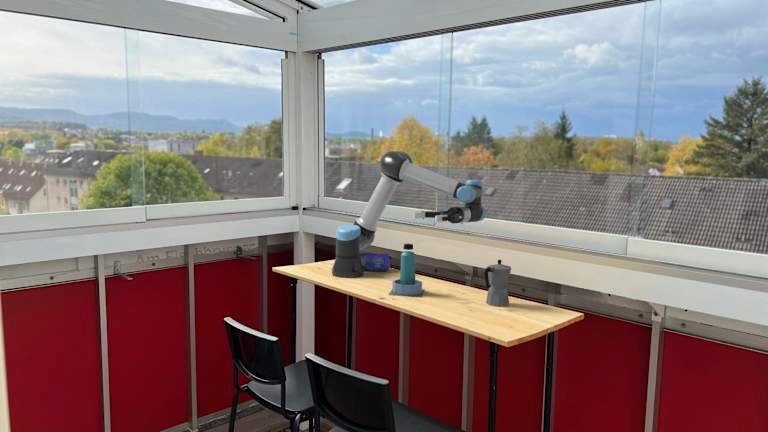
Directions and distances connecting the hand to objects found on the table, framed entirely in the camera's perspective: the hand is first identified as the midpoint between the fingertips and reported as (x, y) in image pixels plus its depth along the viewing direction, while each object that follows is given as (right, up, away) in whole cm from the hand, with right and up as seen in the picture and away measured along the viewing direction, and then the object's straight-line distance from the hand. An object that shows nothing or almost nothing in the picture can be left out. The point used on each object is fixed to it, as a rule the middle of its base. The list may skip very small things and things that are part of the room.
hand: (424, 217), depth 246 cm
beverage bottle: (-8, -31, -2) cm, 32 cm away
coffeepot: (+27, -35, -16) cm, 47 cm away
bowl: (-8, -32, -2) cm, 33 cm away
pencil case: (-25, -27, +42) cm, 56 cm away
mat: (-8, -32, -2) cm, 33 cm away
